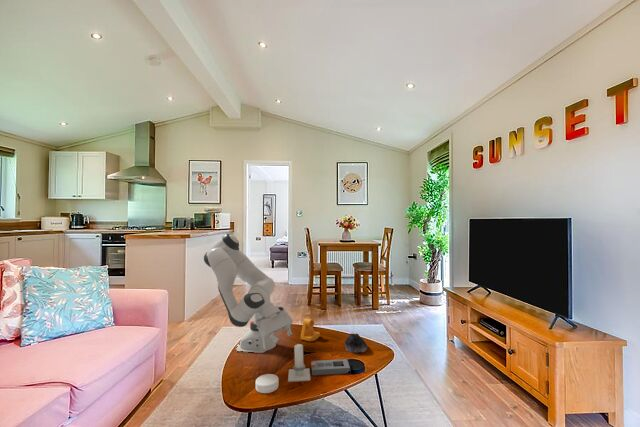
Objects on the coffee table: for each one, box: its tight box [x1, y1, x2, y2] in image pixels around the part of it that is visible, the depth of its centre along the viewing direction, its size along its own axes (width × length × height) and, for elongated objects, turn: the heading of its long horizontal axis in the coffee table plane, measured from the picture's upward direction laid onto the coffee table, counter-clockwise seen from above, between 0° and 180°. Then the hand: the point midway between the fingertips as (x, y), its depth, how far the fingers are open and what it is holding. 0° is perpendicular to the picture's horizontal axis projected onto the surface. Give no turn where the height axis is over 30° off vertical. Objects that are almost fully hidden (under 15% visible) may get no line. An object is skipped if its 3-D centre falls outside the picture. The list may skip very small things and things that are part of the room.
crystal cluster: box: [344, 332, 368, 354], centre depth 164 cm, size 13×14×10 cm
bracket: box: [300, 317, 321, 342], centre depth 180 cm, size 11×7×12 cm, turn 144°
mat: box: [287, 368, 311, 383], centre depth 136 cm, size 10×10×1 cm
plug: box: [292, 343, 306, 376], centre depth 136 cm, size 6×6×13 cm
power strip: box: [310, 358, 351, 376], centre depth 141 cm, size 18×9×3 cm, turn 94°
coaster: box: [255, 373, 280, 394], centre depth 127 cm, size 10×10×4 cm
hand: (284, 338), depth 142 cm, fingers open, 8 cm apart
